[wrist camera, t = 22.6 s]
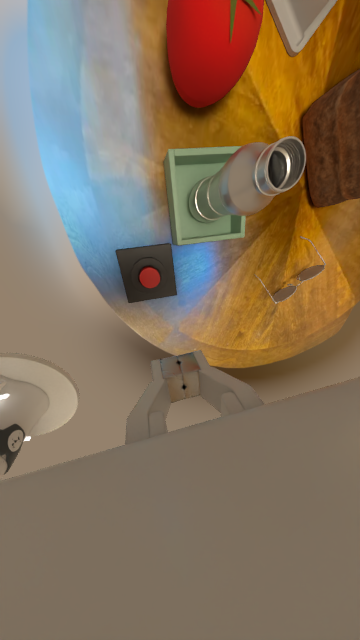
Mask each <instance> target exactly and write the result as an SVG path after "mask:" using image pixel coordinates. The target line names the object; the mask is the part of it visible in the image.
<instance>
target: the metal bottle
mask: <svg viewBox="0 0 360 640" xmlns="http://www.w3.org/2000/svg"><path fill="white" fill-rule="evenodd" d="M305 163H306V152H305V148H304V145H303V143H302V142H301V141H300V140H299V139H298V138H296V137H293V136H289V137H285V138H282V139H280V140H279V141H277V142H276V143H273V144H271V145H268V144H266V143H262V142H257V143H250V144H247V145H244V146H242V147H241V148H239V149H238V150H237V151H236V152H235V153H234V154H233V155H232V156H231V157H230V158H229V159H228V160H227V162H226V163H225V164H224V166H223V167H222V168H221V170H220V171H218V172H217V173H216V174H215V175H213V176H209V177H206V178H204V179H201V180H200V181H198V182H197V183H196V185H195V186H194V187H193V189H192V192H191V194H190V197H189V208H190V211H191V213H192V215H193V216H194V217H195V218H196V219H197V220H199V221H201V222H204V223H211V222H214V221H216V220H218V219H219V218H221V217H222V216H225V215H238V216H248V215H252V214H255V213H257V212H259V211H260V210H262V209H263V208H264V207H266V206H267V205H268V204H269V203H270V202H271V200H272V199H273V198H274V196H275V195H277V194H279V193H281V192H284V191H287V190H288V189H290V188H292V187H293V186H294V185H295V184H296V183H297V182H298V181H299V179H300V177H301V176H302V173H303V171H304V168H305Z"/></svg>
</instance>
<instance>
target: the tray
mask: <svg viewBox="0 0 360 640" xmlns="http://www.w3.org/2000/svg"><path fill="white" fill-rule="evenodd" d="M241 147H242V146H232V147H209V148H186V149H168V152H167V154H166V157H165V160H164V169H165V178H166V187H167V196H168V205H169V214H170V223H171V232H172V241H173V244H174V245H178V246H179V245H187V244H195V243H202V242H210V241H218V240H226V239H234V238H241V237H244V233H245V216H238V215H225V216H222V217H221V218H219V219H218V220H216V221H214V222H211V223H204V222H201V221H199V220H197V219H196V218H195V217H194V216H193V215H192V213H191V211H190V208H189V197H190V194H191V192H192V189H193V187H194V186H195V185H196V183H197V182H198V181H200V180H201V179H204V178H206V177H209V176H213V175H215V174H216V173H217V172H218V171H220V170H221V168H222V167H223V166H224V164H225V163H226V162H227V160H228V159H229V158H230V157H231V156H232V155H233V154H234V153H235V152H236V151H237V150H238V149H239V148H241Z"/></svg>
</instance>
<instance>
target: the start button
mask: <svg viewBox="0 0 360 640" xmlns="http://www.w3.org/2000/svg"><path fill="white" fill-rule="evenodd" d="M139 276H140V282H141V284H142V285H143V286H144V287H146V288H154V287H156V286H157V285H158V284H159V282H160V275H159V273H158V271H157V270H156V269H155V268H154V267H150V266H148V267H145V268H143V269H142V270H141V272H140V275H139Z"/></svg>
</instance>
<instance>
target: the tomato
mask: <svg viewBox="0 0 360 640" xmlns="http://www.w3.org/2000/svg"><path fill="white" fill-rule="evenodd" d="M263 5H264V0H168V8H167V23H166V28H167V50H168V59H169V65H170V70H171V74H172V78H173V81H174V84H175V87H176V89H177V91H178V93H179V95H180V97H181V98H182V99H183V100H184V101H185V102H186V103H187V104H189V105H190V106H193V107H196V108H202V107H206V106H208V105H211V104H213V103H215V102H217V101H219V100H220V99H222V98H223V97H224V96H225V95H226V94H227V93H228V92H229V91H230V90H231V89H232V88H233V87H234V86H235V84H236V83H237V82H238V80H239V79H240V78H241V76H242V74H243V72H244V71H245V69H246V67H247V65H248V63H249V61H250V59H251V56H252V54H253V51H254V49H255V47H256V43H257V39H258V35H259V31H260V27H261V23H262V17H263Z"/></svg>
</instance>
